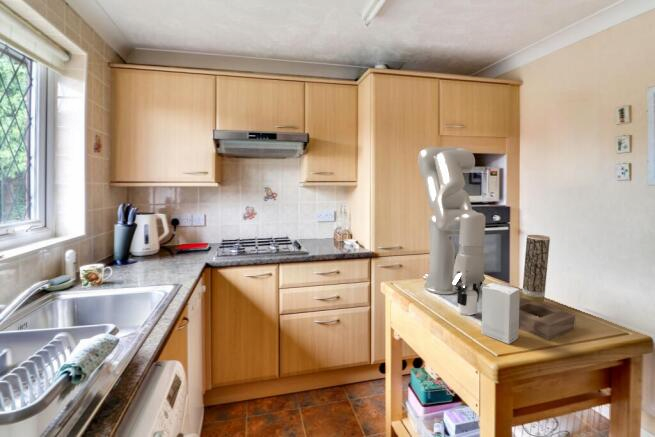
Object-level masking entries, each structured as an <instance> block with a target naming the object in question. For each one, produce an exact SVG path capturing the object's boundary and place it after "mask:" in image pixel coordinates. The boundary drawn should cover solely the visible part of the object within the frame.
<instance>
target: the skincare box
mask: <svg viewBox="0 0 655 437" xmlns="http://www.w3.org/2000/svg"><path fill="white" fill-rule="evenodd" d="M481 287H482V288H481V289H482V293H481V296H482V297H481V303H482V304H481V335H484V336H487V337H490V338H492V339H494V340H497V341H500V342H503V343H505V344H507V345H510V344H512V343H513V342H515V341H516V340H518V339H519V333H520V332H519V330H520V329H519V299H520V298H521V297H520V290H521V289H519V288H517V287H512V286H508V285H503V284H499V283H496V282H490V283H488V284H486V285H483V286H481Z"/></svg>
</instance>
